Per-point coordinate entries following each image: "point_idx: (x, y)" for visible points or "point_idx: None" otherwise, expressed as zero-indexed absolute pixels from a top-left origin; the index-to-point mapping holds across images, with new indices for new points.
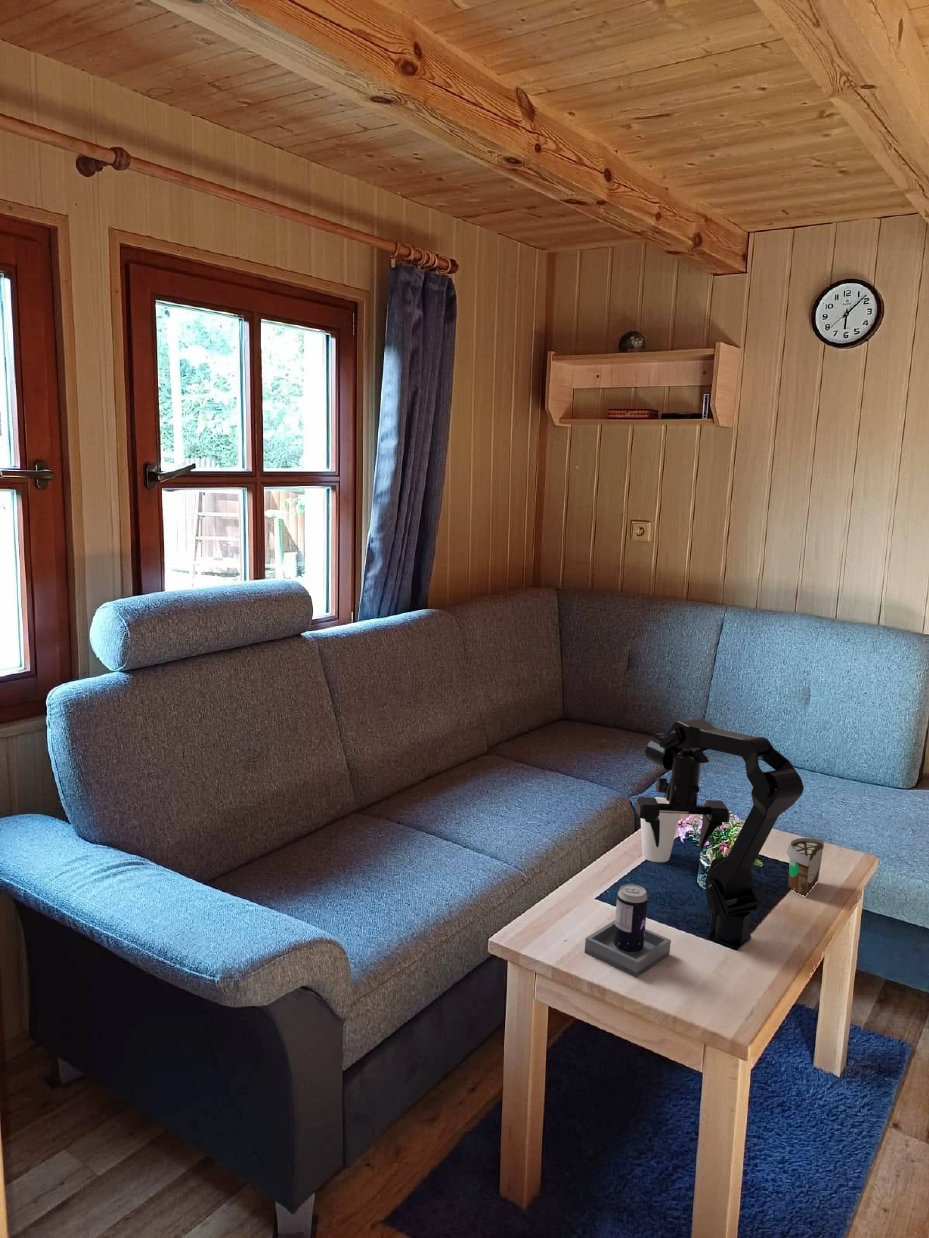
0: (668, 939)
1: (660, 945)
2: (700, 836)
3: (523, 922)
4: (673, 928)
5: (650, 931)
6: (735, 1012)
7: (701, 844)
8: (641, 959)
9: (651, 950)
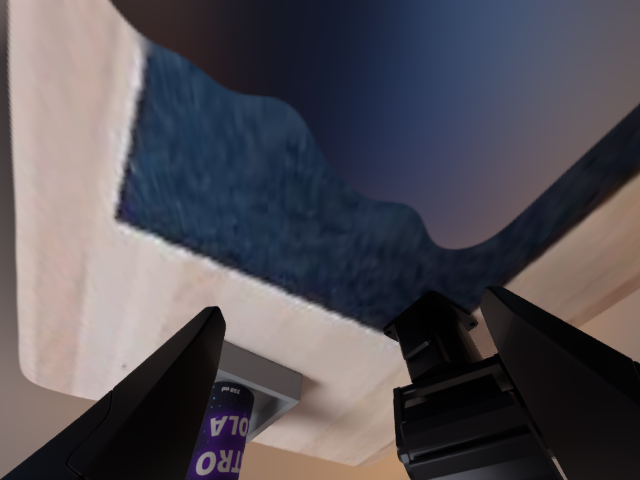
0: (296, 400)
1: (281, 413)
2: (540, 351)
3: (22, 334)
4: (317, 309)
5: (262, 388)
6: (371, 444)
7: (500, 348)
8: (251, 438)
9: (266, 423)
